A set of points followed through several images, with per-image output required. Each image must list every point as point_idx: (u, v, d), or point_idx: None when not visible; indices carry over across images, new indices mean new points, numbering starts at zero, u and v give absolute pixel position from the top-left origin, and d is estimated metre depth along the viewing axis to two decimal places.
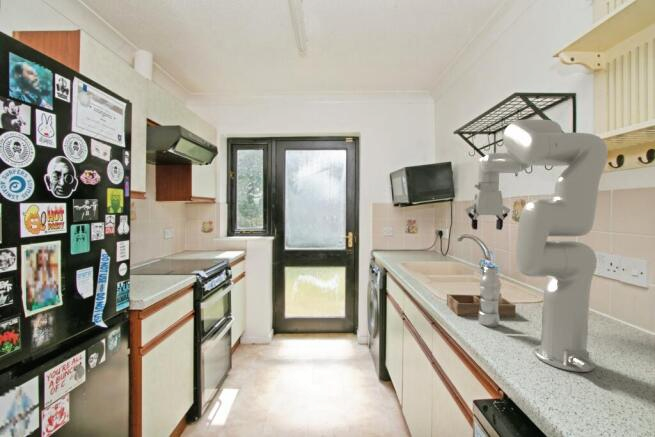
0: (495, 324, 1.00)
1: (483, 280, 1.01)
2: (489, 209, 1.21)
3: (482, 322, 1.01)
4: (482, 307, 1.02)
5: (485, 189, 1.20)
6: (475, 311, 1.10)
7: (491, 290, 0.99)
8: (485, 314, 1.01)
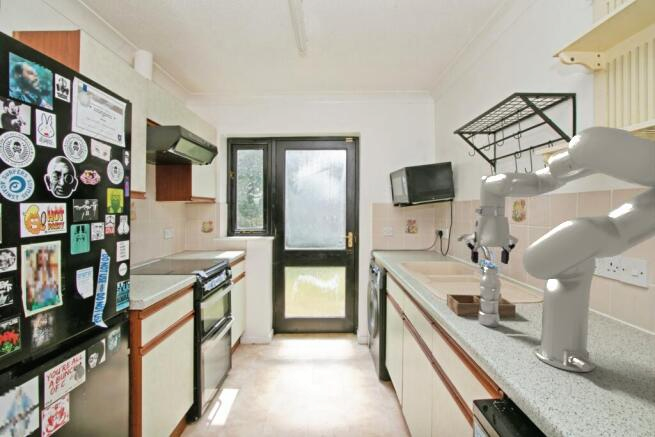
0: (495, 324, 1.00)
1: (483, 280, 1.01)
2: (493, 240, 0.99)
3: (482, 322, 1.01)
4: (482, 307, 1.02)
5: (488, 215, 0.98)
6: (475, 311, 1.10)
7: (491, 290, 0.99)
8: (485, 314, 1.01)
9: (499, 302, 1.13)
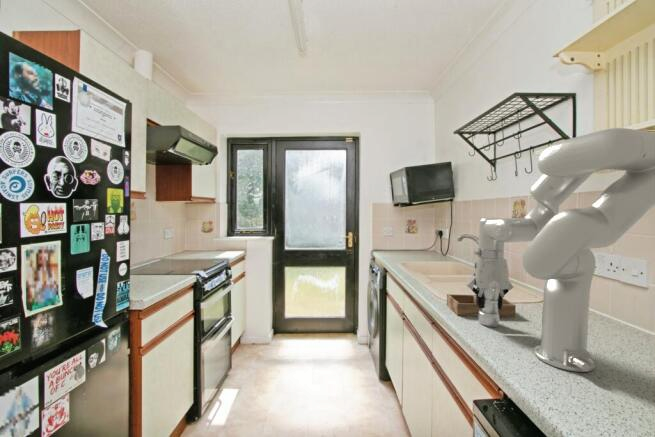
0: (495, 324, 1.00)
1: None
2: None
3: (482, 322, 1.01)
4: None
5: (487, 258, 0.99)
6: (475, 311, 1.10)
7: (491, 290, 0.99)
8: (485, 314, 1.01)
9: None
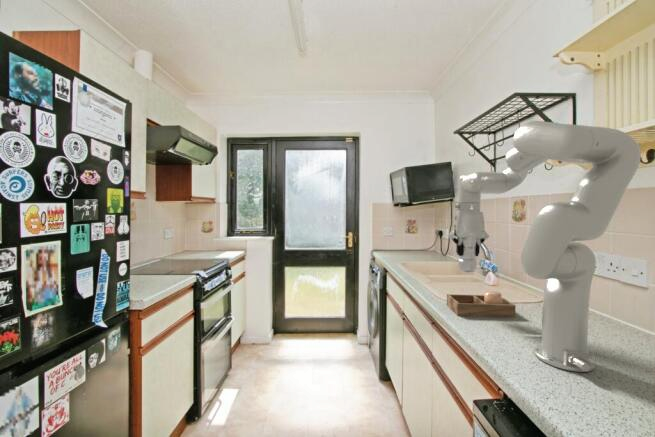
0: (472, 269, 1.12)
1: None
2: None
3: (461, 268, 1.14)
4: (462, 254, 1.14)
5: (465, 210, 1.11)
6: (475, 311, 1.10)
7: (468, 238, 1.12)
8: (464, 260, 1.13)
9: (499, 302, 1.13)
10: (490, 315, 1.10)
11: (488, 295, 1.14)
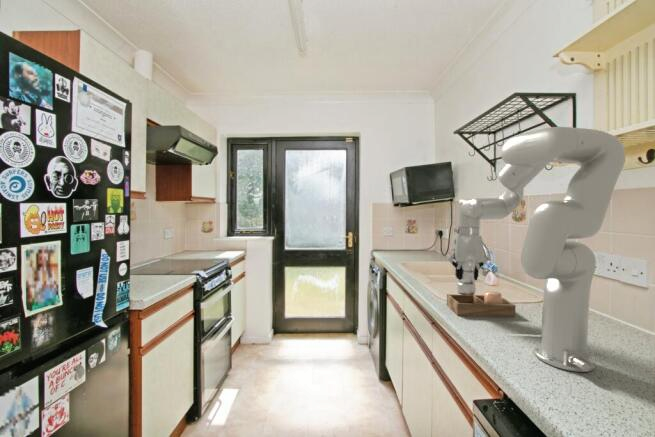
0: (471, 293, 1.13)
1: None
2: None
3: (460, 291, 1.14)
4: (461, 278, 1.15)
5: (464, 235, 1.12)
6: (475, 311, 1.10)
7: (467, 263, 1.12)
8: (462, 284, 1.14)
9: (499, 302, 1.13)
10: (490, 315, 1.10)
11: (488, 295, 1.14)
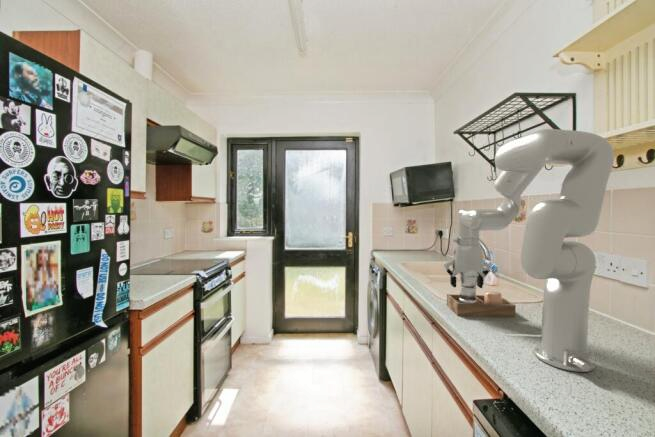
0: None
1: None
2: (468, 267, 1.12)
3: None
4: (462, 294, 1.15)
5: (464, 245, 1.12)
6: (475, 311, 1.10)
7: (469, 279, 1.12)
8: (464, 300, 1.13)
9: (499, 302, 1.13)
10: (490, 315, 1.10)
11: (488, 295, 1.14)
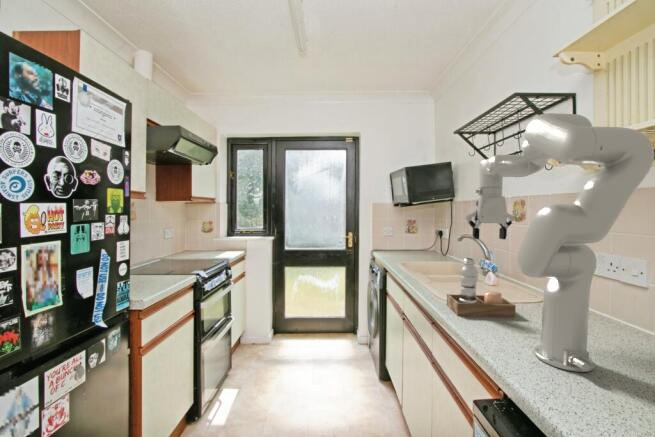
0: None
1: (462, 270, 1.14)
2: (492, 217, 1.09)
3: None
4: (462, 294, 1.14)
5: (488, 195, 1.09)
6: (475, 311, 1.10)
7: (469, 279, 1.12)
8: (464, 300, 1.13)
9: (499, 302, 1.13)
10: (490, 315, 1.10)
11: (488, 295, 1.14)
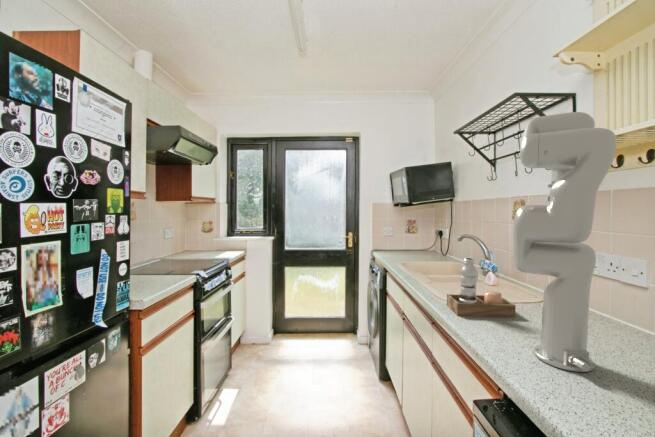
0: None
1: (462, 270, 1.14)
2: None
3: None
4: (462, 294, 1.15)
5: None
6: (475, 311, 1.10)
7: (469, 279, 1.12)
8: (464, 300, 1.13)
9: (499, 302, 1.13)
10: (490, 315, 1.10)
11: (488, 295, 1.14)
